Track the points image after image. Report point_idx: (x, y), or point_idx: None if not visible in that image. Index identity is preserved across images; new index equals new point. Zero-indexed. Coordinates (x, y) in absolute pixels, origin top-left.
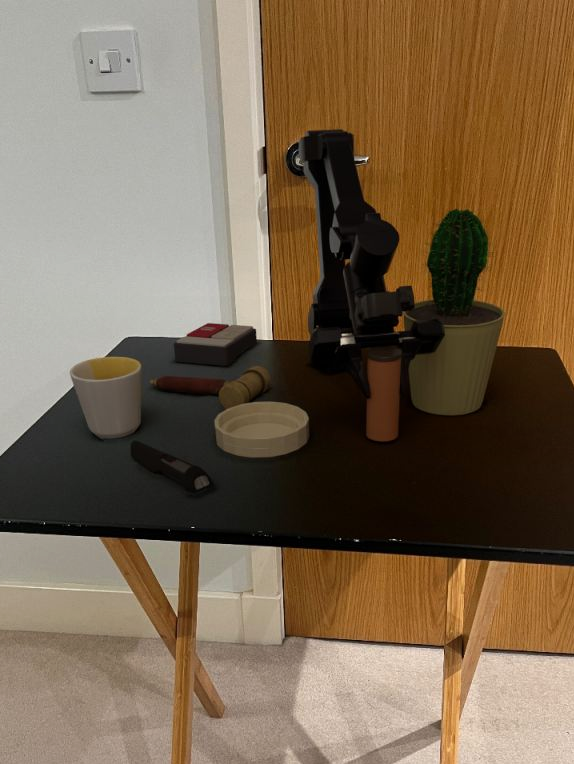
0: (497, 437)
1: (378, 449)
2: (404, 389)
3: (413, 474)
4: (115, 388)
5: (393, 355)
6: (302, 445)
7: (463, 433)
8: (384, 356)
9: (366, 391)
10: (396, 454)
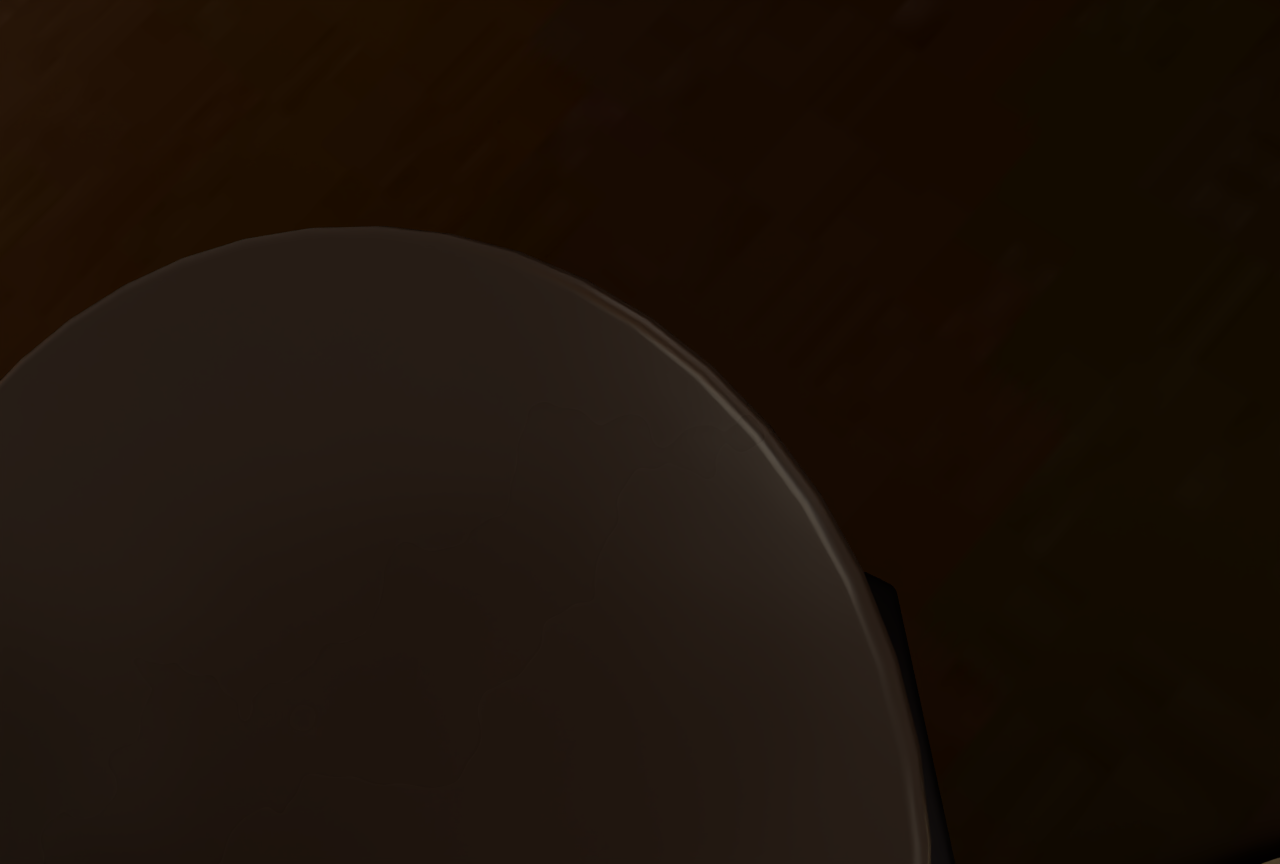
0: (161, 187)
1: None
2: None
3: (843, 90)
4: None
5: (354, 304)
6: (1278, 860)
7: None
8: (642, 405)
9: (899, 631)
10: (738, 358)
